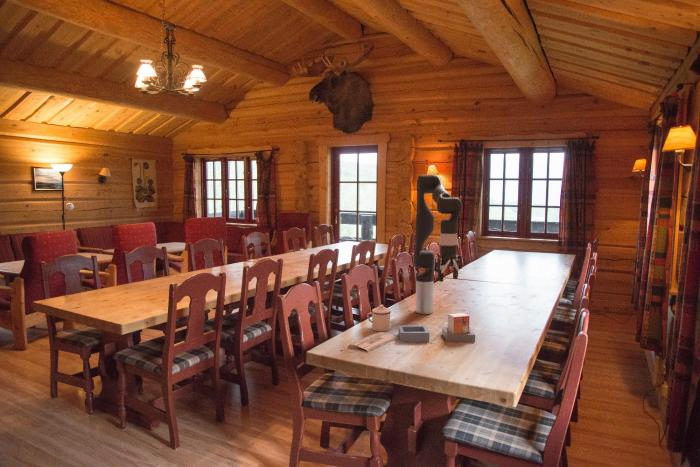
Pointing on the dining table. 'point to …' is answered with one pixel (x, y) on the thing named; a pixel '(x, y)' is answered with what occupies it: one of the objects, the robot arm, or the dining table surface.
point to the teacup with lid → (380, 318)
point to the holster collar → (458, 335)
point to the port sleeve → (414, 333)
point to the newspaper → (373, 341)
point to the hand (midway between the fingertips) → (448, 280)
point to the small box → (458, 323)
